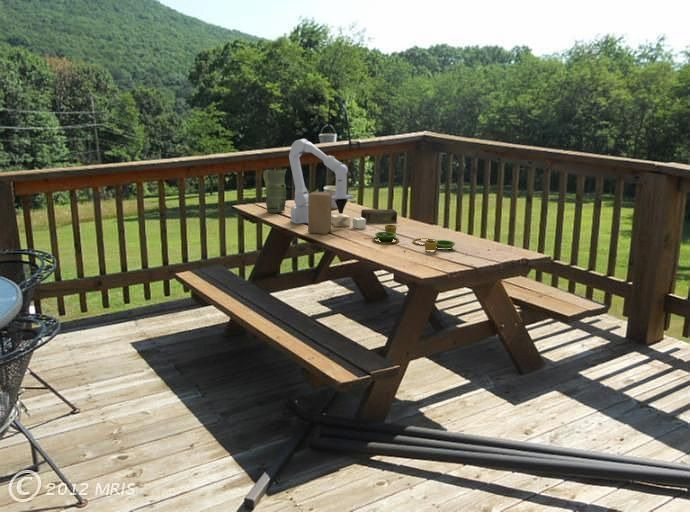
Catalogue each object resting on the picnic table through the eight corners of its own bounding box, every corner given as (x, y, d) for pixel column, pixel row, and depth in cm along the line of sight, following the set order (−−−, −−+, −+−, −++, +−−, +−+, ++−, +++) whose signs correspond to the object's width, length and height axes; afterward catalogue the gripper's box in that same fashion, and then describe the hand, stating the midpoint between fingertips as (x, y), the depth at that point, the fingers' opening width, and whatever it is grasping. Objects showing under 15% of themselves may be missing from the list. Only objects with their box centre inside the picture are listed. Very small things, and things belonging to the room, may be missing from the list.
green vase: (261, 212, 383) (261, 169, 377) (271, 209, 394) (271, 166, 388) (279, 214, 379) (278, 170, 373) (288, 210, 390) (288, 168, 384)
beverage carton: (397, 222, 365) (397, 211, 363) (363, 223, 362) (363, 211, 360) (393, 219, 373) (394, 208, 371) (360, 220, 369) (360, 208, 367)
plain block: (336, 227, 351) (336, 217, 349) (330, 224, 358) (330, 215, 356) (350, 226, 354) (350, 217, 353) (344, 223, 361) (344, 214, 360)
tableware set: (360, 239, 327) (361, 226, 325) (404, 233, 343) (404, 221, 341) (415, 258, 295) (416, 244, 293) (461, 250, 310) (462, 237, 308)
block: (326, 234, 332) (327, 195, 327) (307, 233, 334) (307, 194, 329) (331, 230, 342) (332, 191, 336) (312, 229, 343) (312, 190, 338)
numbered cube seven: (357, 229, 347) (357, 219, 345) (352, 227, 351) (352, 217, 350) (365, 228, 349) (365, 218, 348) (361, 226, 353) (361, 216, 352)
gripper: (332, 189, 344) (331, 215, 347) (356, 188, 350) (356, 213, 354) (326, 187, 350) (325, 213, 353) (350, 186, 356) (350, 211, 360)
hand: (340, 213), depth 354 cm, fingers closed
